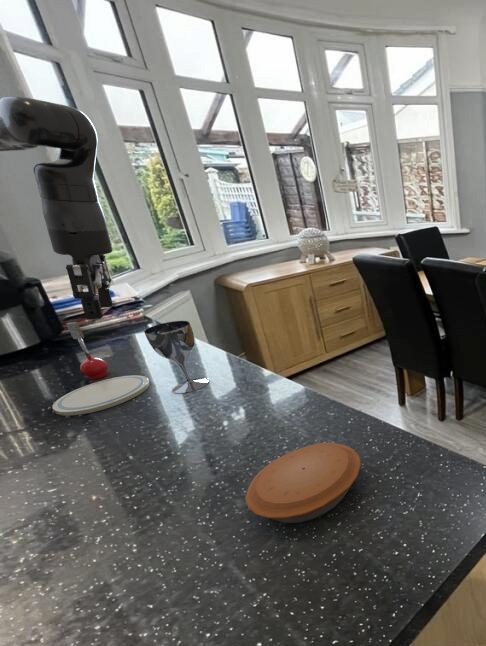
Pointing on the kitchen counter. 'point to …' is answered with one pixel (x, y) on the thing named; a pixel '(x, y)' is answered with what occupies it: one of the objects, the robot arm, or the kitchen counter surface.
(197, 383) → the wine glass
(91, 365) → the red bulb with handle
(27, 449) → the kitchen counter surface
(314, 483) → the pie
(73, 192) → the robot arm
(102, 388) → the plate
